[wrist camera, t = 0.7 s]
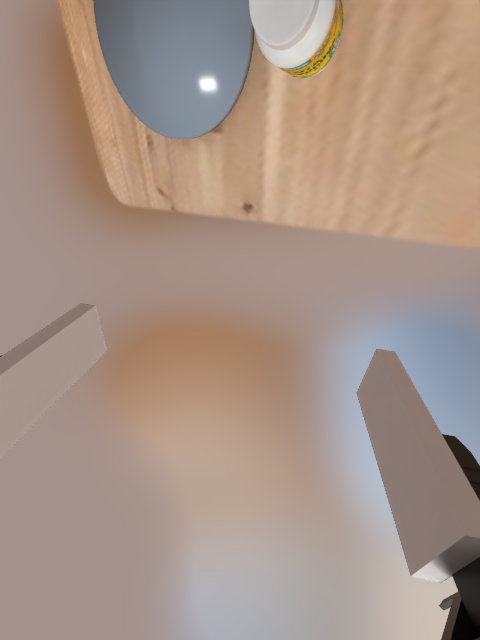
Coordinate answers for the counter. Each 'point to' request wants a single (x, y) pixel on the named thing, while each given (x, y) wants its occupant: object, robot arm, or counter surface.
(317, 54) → the supplement bottle
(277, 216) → the counter surface
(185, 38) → the slate dish
